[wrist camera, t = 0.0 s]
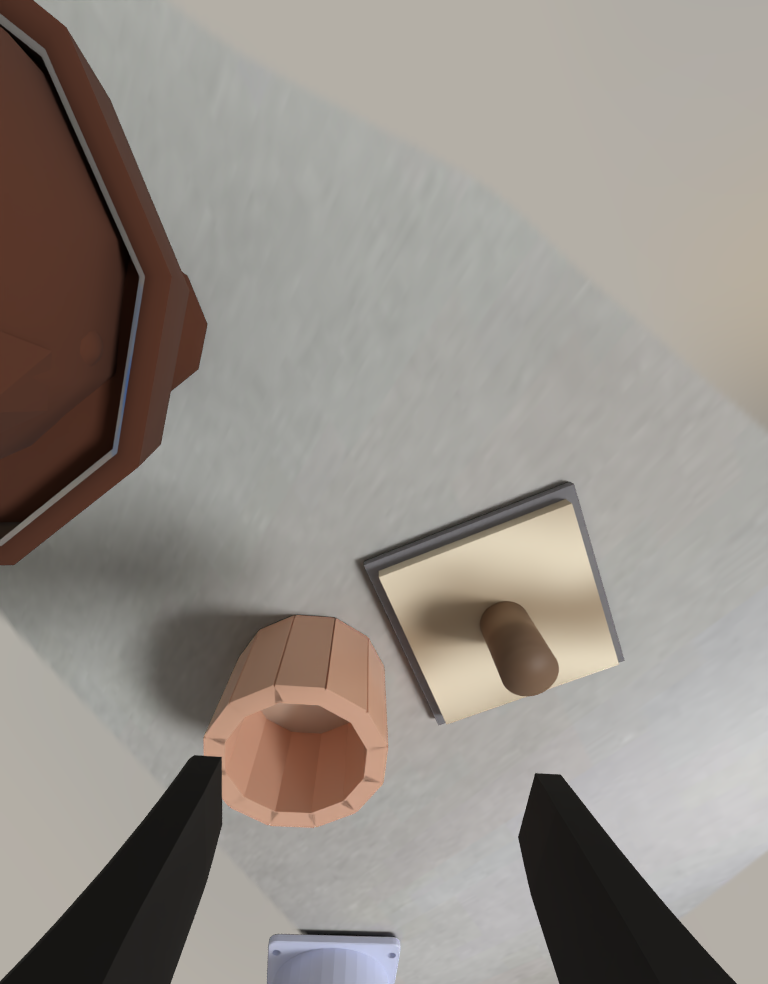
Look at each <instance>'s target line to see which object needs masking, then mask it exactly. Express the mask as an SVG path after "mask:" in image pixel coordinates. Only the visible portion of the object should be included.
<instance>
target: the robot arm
mask: <svg viewBox="0 0 768 984" xmlns="http://www.w3.org/2000/svg"><path fill="white" fill-rule="evenodd" d="M221 827H222V757H216V756H197V755H194V756H193V757H191V758H190V759H189V760H188V761H187V763H186V764H185V765H184V767H183V768H182V770H181V771H180V772H179V774H178V775H177V777H176V778H175V779H174V781H173V782H172V783H171V785H170V786H169V787H168V789H167V790H166V791H165V793H164V794H163V795H162V797H161V798H160V799H159V801H158V802H157V803H156V804H155V806H154V807H153V808H152V810H151V811H150V812H149V813H148V815H147V816H146V817H145V819H144V820H143V821H142V822H141V824H140V825H139V826H138V827H137V829H136V830H135V831H134V832H133V833H132V835H131V836H130V837H129V838H128V839H127V841H126V842H125V843H124V844H123V846H122V847H121V848H120V849H119V850H118V852H117V853H116V854H115V855H114V857H113V858H112V859H111V860H110V861H109V863H108V864H107V865H106V866H105V867H104V869H103V870H102V871H101V872H100V873H99V874H98V875H97V877H96V878H95V879H94V880H93V881H92V882H91V883H90V884H89V886H88V887H87V888H86V889H85V890H84V891H83V893H82V894H81V895H80V896H79V897H78V898H77V899H76V900H75V902H74V903H73V904H72V905H71V906H70V907H69V908H68V909H67V911H66V912H65V913H64V914H63V915H62V916H61V917H60V918H59V920H58V921H57V922H56V923H55V924H54V925H53V926H52V927H51V928H50V929H49V931H48V932H47V933H46V934H45V935H44V936H43V937H42V938H41V939H40V940H39V941H38V942H37V943H36V945H35V946H34V947H33V948H32V949H31V950H30V951H29V952H28V953H27V954H26V955H25V956H24V957H23V958H22V959H21V961H19V962H18V963H17V965H16V966H15V967H14V968H13V969H12V970H11V971H10V972H9V973H8V974H7V975H6V976H5V977H4V978H3V979H2V980H1V981H0V984H170V983H171V980H172V978H173V974H174V972H175V969H176V967H177V964H178V961H179V958H180V955H181V953H182V950H183V947H184V944H185V941H186V939H187V936H188V933H189V930H190V928H191V925H192V922H193V919H194V916H195V914H196V910H197V908H198V905H199V902H200V899H201V897H202V894H203V891H204V888H205V885H206V882H207V879H208V875H209V871H210V868H211V864H212V861H213V857H214V853H215V849H216V846H217V842H218V838H219V834H220V830H221ZM518 838H519V843H520V848H521V853H522V857H523V862H524V867H525V871H526V875H527V880H528V884H529V888H530V892H531V896H532V899H533V903H534V906H535V909H536V912H537V915H538V919H539V922H540V925H541V928H542V931H543V934H544V937H545V941H546V944H547V947H548V950H549V953H550V956H551V959H552V962H553V965H554V968H555V972H556V975H557V978H558V981H559V984H736V982H735V981H734V980H733V979H732V978H731V977H730V976H729V975H728V974H727V973H726V972H725V971H724V970H723V969H722V968H721V967H720V965H719V964H718V963H717V962H716V961H715V960H714V959H713V958H712V957H711V956H710V955H709V954H708V952H707V951H706V950H705V949H704V948H703V947H702V946H701V945H700V944H699V943H698V941H697V940H696V939H695V938H694V937H693V936H692V934H691V933H690V932H689V931H688V930H687V929H686V928H685V927H684V925H682V923H681V922H680V921H679V920H678V919H677V918H676V916H675V915H674V914H673V913H672V912H671V911H670V909H669V908H668V907H667V906H666V905H665V904H664V902H663V901H662V900H661V899H660V898H659V897H658V895H657V894H656V893H655V892H654V891H653V889H652V888H651V887H650V886H649V885H648V883H647V882H646V881H645V880H644V879H643V877H642V876H641V875H640V874H639V872H638V871H637V870H636V869H635V868H634V866H633V865H632V864H631V863H630V862H629V860H628V859H627V858H626V857H625V855H624V854H623V853H622V852H621V850H620V849H619V848H618V847H617V846H616V844H615V843H614V842H613V841H612V839H611V838H610V837H609V835H608V834H607V833H606V832H605V830H604V829H603V828H602V827H601V825H600V824H599V823H598V822H597V820H596V819H595V818H594V816H593V815H592V814H591V813H590V811H589V810H588V809H587V808H586V806H585V805H584V804H583V802H582V801H581V800H580V799H579V797H578V796H577V795H576V793H575V792H574V791H573V790H572V788H571V787H570V786H569V785H568V783H567V782H566V781H565V780H564V778H563V777H562V776H561V775H557V774H538V773H535V776H534V780H533V784H532V787H531V791H530V795H529V799H528V802H527V806H526V810H525V814H524V817H523V821H522V825H521V829H520V832H519V836H518ZM400 950H401V949H400V940H399V939H398V938H396V937H373V936H335V935H294V934H275V935H273V936H272V937H270V939H269V945H268V968H267V984H395V979H396V973H397V967H398V961H399V955H400Z"/></svg>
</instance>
